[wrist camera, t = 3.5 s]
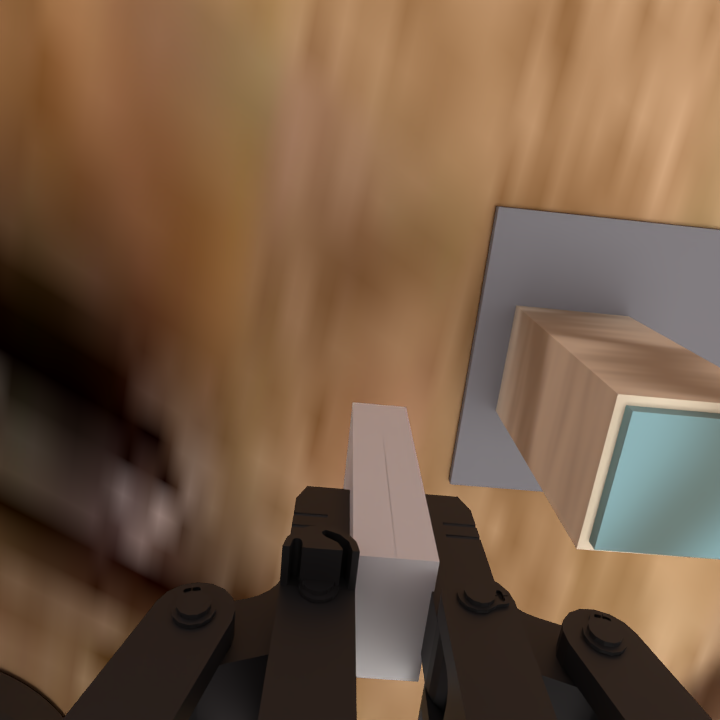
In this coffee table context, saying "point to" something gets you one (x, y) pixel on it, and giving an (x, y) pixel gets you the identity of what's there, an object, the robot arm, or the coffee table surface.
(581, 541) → the beech block
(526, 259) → the felt mat
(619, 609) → the coffee table surface
